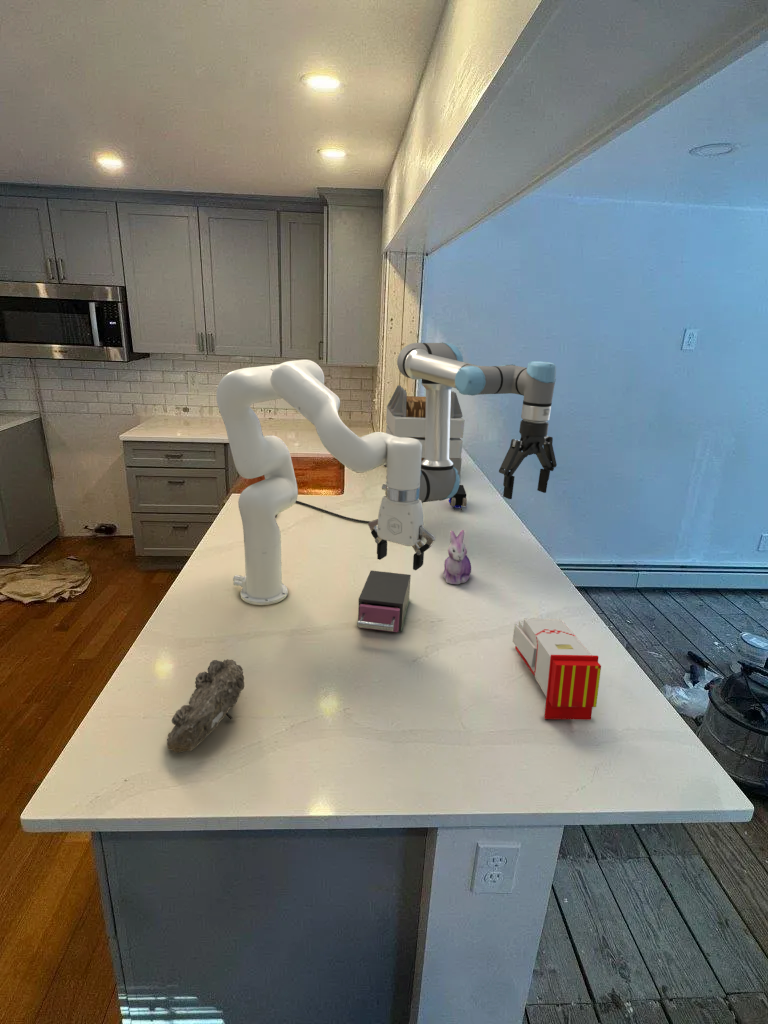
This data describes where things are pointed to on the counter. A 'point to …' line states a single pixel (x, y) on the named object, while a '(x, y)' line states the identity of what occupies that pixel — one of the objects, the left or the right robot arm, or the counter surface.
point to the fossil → (206, 705)
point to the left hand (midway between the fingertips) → (399, 562)
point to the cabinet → (387, 591)
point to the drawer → (379, 617)
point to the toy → (559, 667)
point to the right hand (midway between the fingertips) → (524, 494)
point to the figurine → (457, 560)
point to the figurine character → (459, 498)
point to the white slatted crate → (423, 422)
